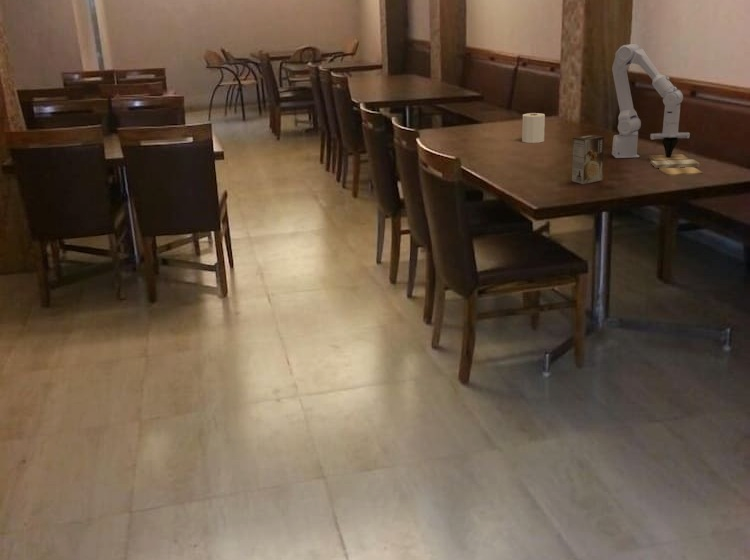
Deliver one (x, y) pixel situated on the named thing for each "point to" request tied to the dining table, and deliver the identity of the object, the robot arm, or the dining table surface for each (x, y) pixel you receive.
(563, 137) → the dining table surface
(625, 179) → the dining table surface
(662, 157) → the board
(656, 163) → the floor board
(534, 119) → the toilet paper
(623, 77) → the robot arm
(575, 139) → the coffee box
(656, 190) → the dining table surface
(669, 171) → the plank
